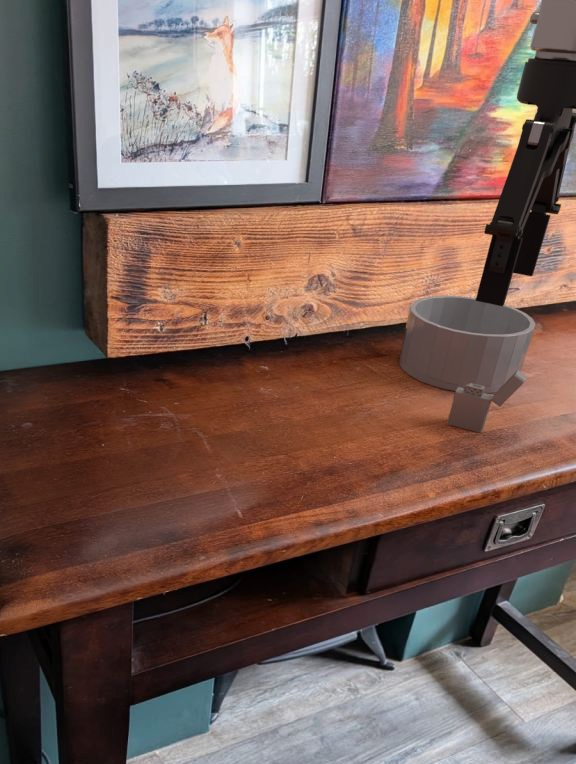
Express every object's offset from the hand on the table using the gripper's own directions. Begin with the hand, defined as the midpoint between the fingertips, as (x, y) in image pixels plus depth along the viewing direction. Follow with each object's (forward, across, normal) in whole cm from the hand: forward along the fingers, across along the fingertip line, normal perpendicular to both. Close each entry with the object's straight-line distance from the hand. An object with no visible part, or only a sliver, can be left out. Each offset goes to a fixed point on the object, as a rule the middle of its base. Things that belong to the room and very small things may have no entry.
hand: (505, 287), depth 80 cm
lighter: (+18, -1, +1) cm, 18 cm away
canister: (+17, -19, -6) cm, 26 cm away
